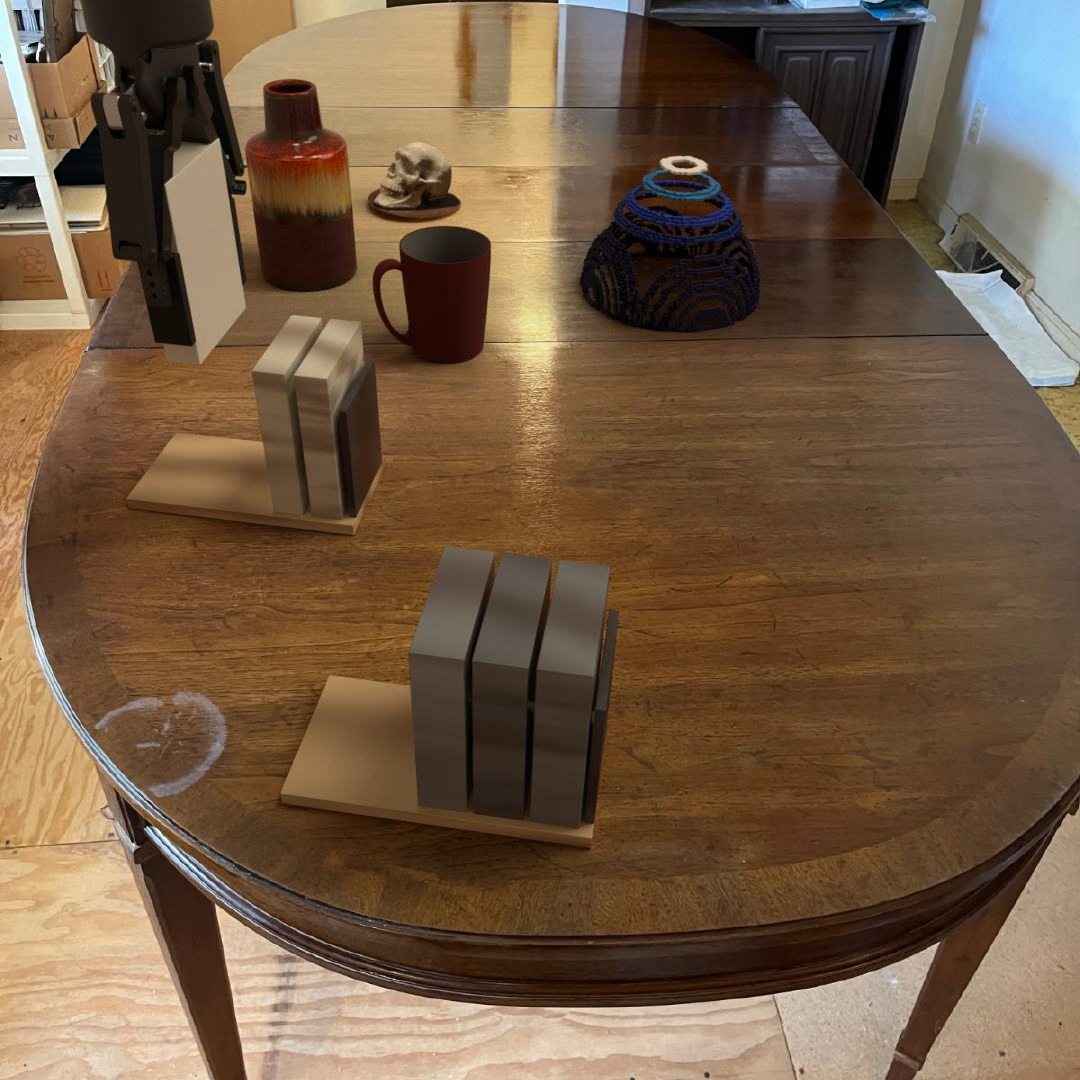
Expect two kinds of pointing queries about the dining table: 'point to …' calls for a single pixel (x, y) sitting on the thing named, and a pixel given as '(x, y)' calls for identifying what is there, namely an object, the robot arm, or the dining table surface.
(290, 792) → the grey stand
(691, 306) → the decorative bowl
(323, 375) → the beige stand
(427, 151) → the skull
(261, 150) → the vase
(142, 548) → the dining table surface
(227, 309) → the white book
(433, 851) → the dining table surface
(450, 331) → the mug
